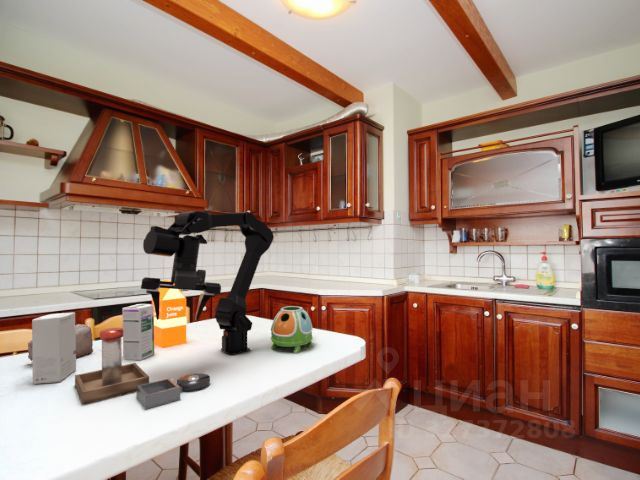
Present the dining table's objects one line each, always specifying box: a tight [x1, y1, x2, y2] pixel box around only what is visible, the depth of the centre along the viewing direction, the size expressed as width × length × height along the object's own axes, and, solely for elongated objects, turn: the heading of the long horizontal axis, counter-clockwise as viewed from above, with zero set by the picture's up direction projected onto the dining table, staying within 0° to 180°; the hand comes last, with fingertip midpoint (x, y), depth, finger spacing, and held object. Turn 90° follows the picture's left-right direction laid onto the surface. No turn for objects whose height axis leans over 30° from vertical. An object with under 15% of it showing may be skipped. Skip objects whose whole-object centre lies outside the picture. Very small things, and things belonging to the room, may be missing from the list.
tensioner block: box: [135, 372, 211, 410], centre depth 75 cm, size 15×9×2 cm, turn 131°
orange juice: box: [151, 279, 187, 349], centre depth 113 cm, size 8×9×20 cm
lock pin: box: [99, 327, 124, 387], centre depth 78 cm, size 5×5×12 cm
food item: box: [27, 323, 94, 362], centre depth 98 cm, size 14×8×10 cm, turn 159°
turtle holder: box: [270, 305, 314, 354], centre depth 110 cm, size 12×18×12 cm
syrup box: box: [121, 303, 155, 361], centre depth 99 cm, size 6×6×14 cm
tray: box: [74, 362, 150, 406], centre depth 78 cm, size 12×12×2 cm
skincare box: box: [31, 312, 77, 385], centre depth 84 cm, size 8×6×15 cm
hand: (177, 320), depth 89 cm, fingers open, 9 cm apart
